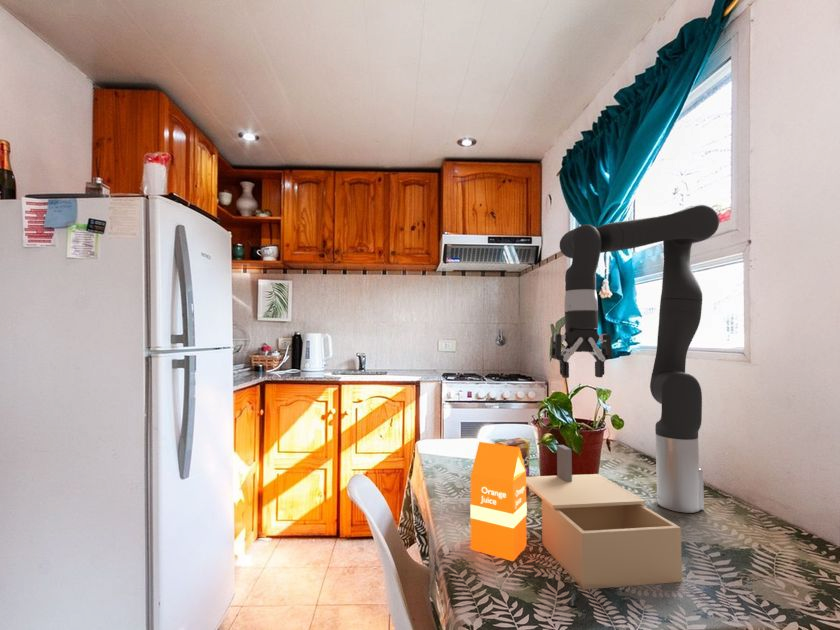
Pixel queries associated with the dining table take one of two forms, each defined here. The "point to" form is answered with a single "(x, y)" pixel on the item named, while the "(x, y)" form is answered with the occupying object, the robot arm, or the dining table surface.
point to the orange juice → (498, 501)
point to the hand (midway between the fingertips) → (582, 377)
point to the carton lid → (578, 487)
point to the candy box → (524, 450)
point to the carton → (613, 545)
